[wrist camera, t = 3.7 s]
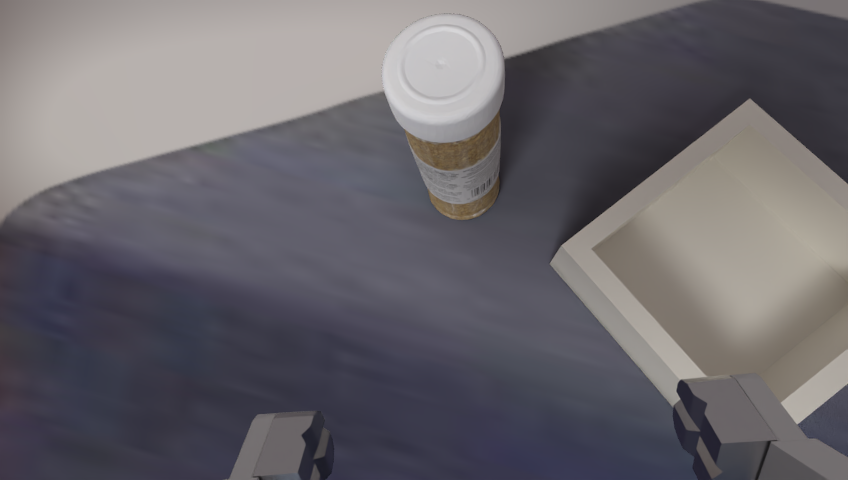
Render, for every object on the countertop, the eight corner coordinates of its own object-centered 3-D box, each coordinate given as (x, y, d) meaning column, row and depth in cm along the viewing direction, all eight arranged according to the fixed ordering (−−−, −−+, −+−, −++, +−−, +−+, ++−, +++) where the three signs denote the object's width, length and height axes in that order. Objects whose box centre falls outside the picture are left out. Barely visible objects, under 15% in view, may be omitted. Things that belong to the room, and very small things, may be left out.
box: (875, 299, 25) (966, 287, 20) (701, 440, 25) (751, 461, 20) (706, 141, 28) (750, 98, 24) (549, 263, 28) (561, 245, 23)
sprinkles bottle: (472, 141, 31) (458, -15, 18) (514, 195, 29) (532, 72, 16) (413, 180, 30) (355, 54, 18) (453, 237, 29) (422, 145, 16)
